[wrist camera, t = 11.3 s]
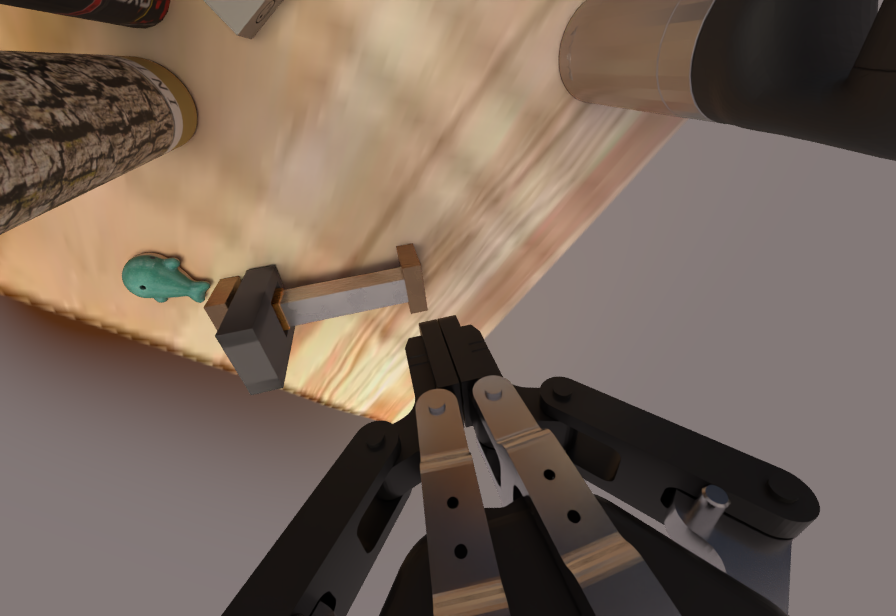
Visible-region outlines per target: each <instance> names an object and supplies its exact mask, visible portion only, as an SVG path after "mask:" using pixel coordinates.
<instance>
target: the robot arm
mask: <svg viewBox="0 0 896 616" xmlns="http://www.w3.org/2000/svg"><path fill="white" fill-rule="evenodd" d="M559 68H560V73H561V78H562V80H563V83H564V85H565V87H566V89H567V90H568V91H569V93H570V94H571V95H572V96H574V97H575V98H576V99H578V100H580V101H583V102H588V103H594V104H600V105H606V106H612V107H618V108H625V109H631V110H637V111H644V112H650V113H657V114H663V115H670V116H676V117H682V118H690V119H697V120H703V121H710V122H717V123H723V124H730V125H735V126H738V127H741V128H746V129H750V130H756V131H762V132H767V133H773V134H779V135H784V136H788V137H793V138H798V139H802V140H807V141H812V142H817V143H820V144H825V145H829V146H833V147H837V148H842V149H846V150H850V151H854V152H858V153H863V154H867V155H871V156H875V157H879V158H885V159H889V160H895V161H896V0H884V1H883V3H882V5H881V7H880V9H879V11H878V0H586V1H585V2H584V3H583V4H582V5H581V6H580V7H579V8H578V9H577V11H576V12H575V14H574V15H573V17H572V18H571V20H570V22H569V24H568V26H567V28H566V30H565V32H564V36H563V39H562V42H561V47H560V54H559ZM419 329H420V334H421V336H417V337H413V338H409V339H408V341H407V344H406V347H405V350H406V355H407V360H408V365H409V369H410V374H411V379H412V384H413V389H414V393H415V404H414V407H413V409H412V410H411V412H410V413H409V414H408V415H407V416H405V417H404V418H403V419H401V420H399V421H398V422H396V423H394V424H391V423H389V422H387V421H374V422H371V423H368V424H366V425H365V426H363V427H362V428H361V429H360V430H359V431H358V432H357V433H356V435H355V436H354V437H353V439H352V440H351V441H350V443H349V444H348V445H347V447H346V448H345V450H344V451H343V452H342V454H341V455H340V456H339V458H338V459H337V460H336V462H335V463H334V465H333V466H332V467H331V468H330V470H329V471H328V472H327V474H326V475H325V477H324V478H323V479H322V481H321V482H320V483H319V485H318V486H317V487H316V489H315V490H314V491H313V493H312V494H311V495H310V497H309V498H308V500H307V501H306V502H305V503H304V505H303V506H302V507H301V509H300V510H299V512H298V513H297V514H296V516H295V517H294V518H293V520H292V521H291V522H290V524H289V525H288V526H287V528H286V529H285V530H284V532H283V533H282V534H281V536H280V537H279V539H278V540H277V541H276V542H275V544H274V545H273V547H272V548H271V549H270V551H269V552H268V553H267V555H266V556H265V558H264V559H263V560H262V561H261V563H260V564H259V566H258V567H257V568H256V569H255V571H254V572H253V574H252V575H251V576H250V578H249V579H248V580H247V582H246V583H245V584H244V586H243V587H242V588H241V590H240V591H239V592H238V594H237V595H236V596H235V598H234V599H233V601H232V602H231V603H230V605H229V606H228V607H227V608H226V610H225V611H224V613H223V614H222V615H221V616H346V615H347V613H348V611H349V609H350V607H351V605H352V603H353V601H354V600H355V598H356V596H357V594H358V592H359V590H360V588H361V586H362V585H363V583H364V581H365V579H366V577H367V575H368V573H369V571H370V569H371V568H372V566H373V564H374V562H375V560H376V558H377V556H378V554H379V552H380V551H381V549H382V547H383V545H384V543H385V541H386V539H387V537H388V535H389V533H390V532H391V530H392V528H393V526H394V524H395V522H396V520H397V518H398V516H399V515H400V513H401V511H402V509H403V507H404V505H405V503H406V501H407V499H408V498H409V496H410V493H411V490H412V488H413V487H415V486H416V485H418V484H419V483H422V493H423V504H424V514H425V524H426V535H425V536H423V537H422V538H421V539H420V540H419V541H418V542H417V543H416V544H415V545H414V546H413V548H412V549H411V550H410V552H409V553H408V555H407V556H406V558H405V560H404V562H403V563H402V565H401V567H400V569H399V571H398V574H397V576H396V578H395V581H394V583H393V585H392V587H391V590H390V592H389V594H388V597H387V599H386V601H385V603H384V606H383V608H382V610H381V612H380V615H379V616H789V615H788V605H789V585H790V565H791V544H792V541H793V540H794V539H795V538H796V537H797V536H798V535H799V534H800V533H801V532H802V531H803V530H804V529H805V528H807V527H808V526H809V525H810V524H811V523H812V522H813V521H814V520H815V519H816V518H817V517H818V515H819V512H820V506H819V502H818V500H817V498H816V496H815V494H814V493H813V492H812V490H811V489H810V488H809V487H808V486H807V485H806V484H805V483H804V482H802V481H801V480H800V479H799V478H797V477H796V476H794V475H793V474H791V473H789V472H787V471H785V470H783V469H781V468H778V467H776V466H774V465H772V464H769V463H767V462H765V461H762V460H760V459H757V458H755V457H753V456H750V455H748V454H746V453H743V452H741V451H738V450H736V449H734V448H732V447H729V446H727V445H724V444H722V443H720V442H718V441H715V440H713V439H710V438H708V437H706V436H703V435H701V434H698V433H696V432H694V431H692V430H689V429H687V428H685V427H682V426H679V425H677V424H675V423H673V422H670V421H668V420H666V419H663V418H661V417H659V416H656V415H654V414H652V413H649V412H647V411H645V410H642V409H640V408H638V407H635V406H632V405H630V404H628V403H626V402H623V401H621V400H619V399H616V398H614V397H611V396H609V395H607V394H605V393H602V392H600V391H598V390H595V389H593V388H590V387H588V386H586V385H583V384H581V383H578V382H576V381H574V380H572V379H569V378H565V377H552V378H549V379H547V380H546V381H544V382H543V383H542V385H541V387H540V388H525V387H519V386H515V385H513V384H511V382H510V381H509V380H507V379H506V378H503V376H502V375H501V373H500V370H499V369H498V367H497V364H496V363H495V361H494V359H493V357H492V355H491V353H490V351H489V349H488V347H487V345H486V343H485V342H484V339H483V337H482V335H481V333H480V331H479V330H477V329H476V328H475V327H473V326H472V325H467V326H462V327H461V326H460V324H459V321H458V319H457V317H456V315H453V316H449V317H444V318H440V319H438V322H437V319H435V320H431V321H426V322H422V323H419ZM463 420H464V421H463ZM464 423H465V426H466V427H469V426H473V427H474V430H475V433H476V440H477V445H478V448H479V450H480V452H481V455H482V457H483V459H484V462H485V464H486V466H487V468H488V471H489V473H490V475H491V477H492V480H493V482H494V484H495V487H496V489H497V491H498V494H499V497H500V500H501V505H502V508H484V506H483V502H482V497H481V493H480V489H479V485H478V481H477V476H476V472H475V467H474V463H473V459H472V455H471V453H470V452H469V449H468V444H467V440H466V436H465V431H464ZM584 479H585V480H587V481H589V482H590V483H592V484H594V485H596V486H597V487H599V488H601V489H603V490H604V491H606V492H608V493H610V494H611V495H613V496H615V497H617V498H618V499H620V500H622V501H624V502H625V503H627V504H629V505H631V506H632V507H634V508H636V509H638V510H639V511H641V512H643V513H645V514H646V515H648V516H650V517H651V518H653V519H655V520H657V521H658V522H660V523H662V524H664V525H665V528H666V531H667V533H668V535H669V536H670V538H671V539H670V538H668V537H667V536H665V535H663V534H662V533H660V532H658V531H657V530H655V529H654V528H652V527H651V526H649V525H647V524H645V523H644V522H642V521H641V520H639V519H638V518H636V517H634V516H633V515H631V514H630V513H628V512H626V511H625V510H623V509H622V508H620V507H618V506H617V505H615V504H613V503H612V502H610V501H608V500H606V499H604V498H602V497H600V496H598V495H595V494H593V493H592V491H591V490H590V489H589V487H588V485H587V484H586V482H585V481H584Z"/></svg>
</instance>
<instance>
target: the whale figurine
mask: <svg viewBox="0 0 896 616" xmlns="http://www.w3.org/2000/svg"><path fill="white" fill-rule="evenodd" d="M179 266H180V261H179V259H177V258H166V257H164V256H162V255H160V254H156V253H143V254H139V255H137V256H135V257H133V258H132V259H130V260H129V261H128V262H127V263H126V265H125V266H124V268H123V271H122V280H123V283H124V285H125V286H126V288H127V289H128V290H129V291H130V292H132V293H133V294H135V295H137V296H139V297H143V298H154V299H155V300H156V301H157V302H161V303H162V302H166V301H167V300H168V298H169V297H181V296H189V297H190V298H192V299H193V300H194V301H196V302H199V303H201V302H203V301H204V300H205V293H206V291H207V290H208V289H209V288H210V283H209V282H207V281H195V280H193V279H192V278H191V277H190V276H189V275H188V274H187V273H186V272H184V271H183V270H182V269H181V268H179Z"/></svg>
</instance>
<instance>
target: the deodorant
mask: <svg viewBox="0 0 896 616" xmlns="http://www.w3.org/2000/svg"><path fill="white" fill-rule="evenodd" d="M169 3H170V0H0V4H4V5H9V6H15V7H21V8H26V9H32V10H37V11H43V12H49V13H54V14H60V15H65V16H71V17H77V18H82V19H88V20H94V21H99V22H105V23H110V24H116V25H122V26H127V27H133V28H148V27H152V26H155V25H156V24H158V23H159V22H160V21H162V20H163V18H164V17H165V15H166V13H167V12H168V8H169Z"/></svg>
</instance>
